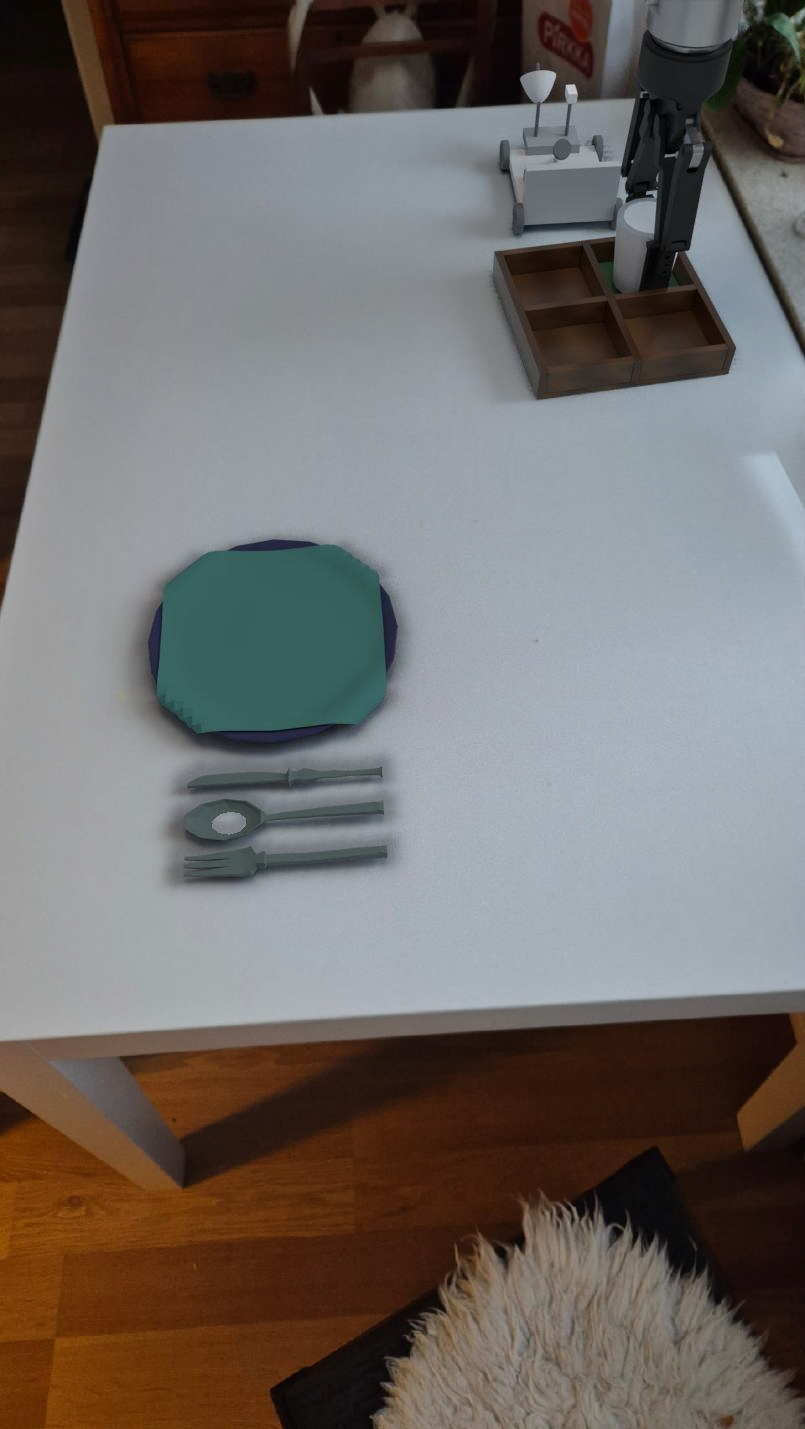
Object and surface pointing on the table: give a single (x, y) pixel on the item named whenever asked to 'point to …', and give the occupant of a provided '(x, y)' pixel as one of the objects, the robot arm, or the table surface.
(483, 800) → the table surface
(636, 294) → the compartment tray
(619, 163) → the toy rover
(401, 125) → the table surface
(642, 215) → the white cylinder canister
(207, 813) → the cutlery set
